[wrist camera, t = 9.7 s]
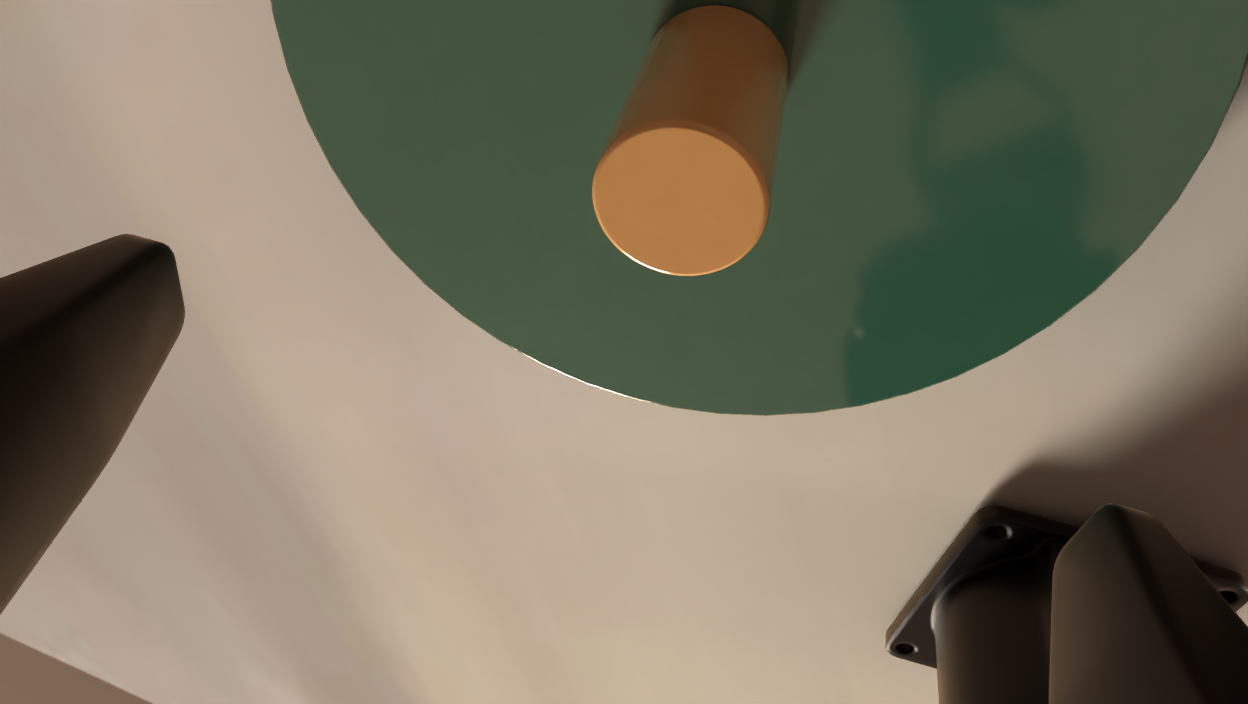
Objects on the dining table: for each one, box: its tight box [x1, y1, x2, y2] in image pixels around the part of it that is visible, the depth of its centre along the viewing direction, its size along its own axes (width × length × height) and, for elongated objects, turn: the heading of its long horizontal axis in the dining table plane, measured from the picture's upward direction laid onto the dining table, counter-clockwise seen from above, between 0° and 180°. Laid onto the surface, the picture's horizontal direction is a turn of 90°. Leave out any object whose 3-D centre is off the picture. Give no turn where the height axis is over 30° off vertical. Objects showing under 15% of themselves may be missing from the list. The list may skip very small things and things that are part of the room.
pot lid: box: [271, 0, 1248, 416], centre depth 14 cm, size 16×16×5 cm
